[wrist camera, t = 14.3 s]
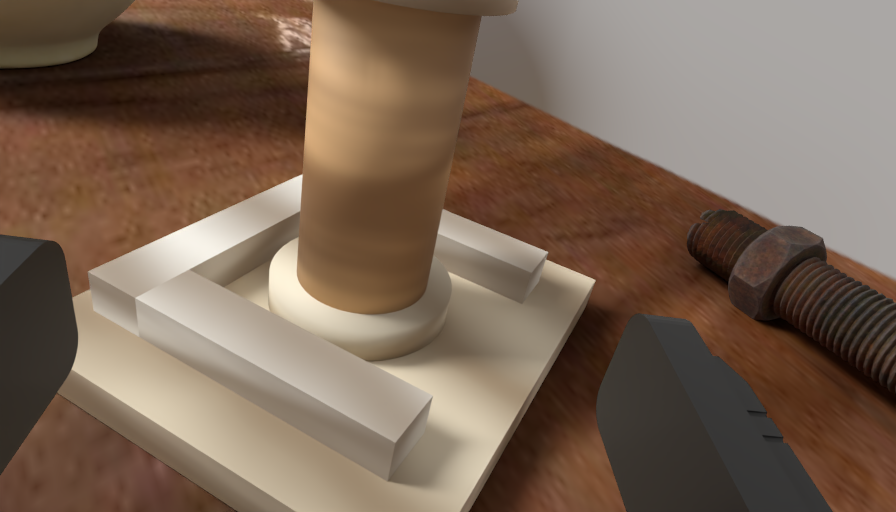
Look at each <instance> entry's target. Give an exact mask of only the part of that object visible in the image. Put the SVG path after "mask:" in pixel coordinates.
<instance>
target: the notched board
mask: <svg viewBox="0 0 896 512" xmlns="http://www.w3.org/2000/svg"><path fill="white" fill-rule="evenodd" d="M302 176H303V174H302V175H300V176H298V177H295V178H293V179H291V180H289V181H287V182H284V183H282V184H280V185H278V186H276V187H273V188H271V189H269V190H267V191H265V192H262V193H260V194H258V195H256V196H253V197H251V198H249V199H247V200H245V201H242V202H240V203H238V204H236V205H234V206H231V207H229V208H227V209H225V210H223V211H220V212H218V213H216V214H214V215H212V216H209V217H207V218H205V219H203V220H201V221H198V222H196V223H194V224H192V225H190V226H187V227H185V228H183V229H181V230H178V231H176V232H174V233H172V234H170V235H167V236H165V237H163V238H161V239H159V240H156V241H154V242H152V243H150V244H148V245H145V246H143V247H141V248H139V249H137V250H134V251H132V252H130V253H128V254H126V255H123V256H121V257H119V258H117V259H115V260H112V261H110V262H108V263H106V264H103V265H101V266H99V267H97V268H95V269H92V270H90V271H88V277H89V283H90V290H88V291H86V292H84V293H81V294H79V295H77V296H75V297H73V298H72V300H73V306H74V311H75V317H76V323H77V328H78V348H77V353H76V358H75V361H74V364H73V367H72V369H71V371H70V373H69V375H68V377H67V378H66V380H65V382H64V383H63V384H62V386H61V387H60V389H59V390H58V392H57V393H58V394H60V395H61V396H63V397H65V398H66V399H68V400H69V401H71V402H72V403H74V404H75V405H77V406H78V407H80V408H81V409H83V410H84V411H86V412H87V413H89V414H90V415H92V416H93V417H95V418H96V419H98V420H99V421H101V422H102V423H104V424H106V425H107V426H109V427H110V428H112V429H113V430H115V431H116V432H118V433H119V434H121V435H122V436H124V437H125V438H127V439H128V440H130V441H131V442H133V443H134V444H136V445H137V446H139V447H140V448H142V449H143V450H145V451H147V452H148V453H150V454H151V455H153V456H154V457H156V458H157V459H159V460H160V461H162V462H163V463H165V464H166V465H168V466H169V467H171V468H172V469H174V470H175V471H177V472H178V473H180V474H181V475H183V476H185V477H186V478H188V479H189V480H191V481H192V482H194V483H195V484H197V485H198V486H200V487H201V488H203V489H204V490H206V491H207V492H209V493H210V494H212V495H213V496H215V497H216V498H218V499H219V500H221V501H222V502H224V503H226V504H227V505H229V506H230V507H232V508H233V509H235V510H236V511H238V512H469V511H470V509H471V507H472V505H473V504H474V502H475V500H476V498H477V497H478V495H479V493H480V491H481V490H482V488H483V486H484V484H485V483H486V481H487V479H488V477H489V476H490V474H491V472H492V470H493V468H494V467H495V465H496V463H497V461H498V460H499V458H500V456H501V454H502V453H503V451H504V449H505V447H506V446H507V444H508V442H509V440H510V439H511V437H512V435H513V433H514V432H515V430H516V428H517V426H518V425H519V423H520V421H521V419H522V418H523V416H524V414H525V412H526V411H527V409H528V407H529V405H530V404H531V402H532V400H533V398H534V397H535V395H536V393H537V391H538V390H539V388H540V386H541V384H542V383H543V381H544V379H545V377H546V376H547V374H548V372H549V370H550V369H551V367H552V365H553V363H554V362H555V360H556V358H557V356H558V355H559V353H560V351H561V349H562V348H563V346H564V344H565V342H566V341H567V339H568V337H569V335H570V334H571V332H572V330H573V328H574V327H575V325H576V323H577V321H578V320H579V318H580V316H581V314H582V313H583V311H584V309H585V307H586V305H587V302H588V299H589V297H590V294H591V291H592V289H593V286H594V284H595V281H596V280H594V279H592V278H589V277H587V276H584V275H582V274H580V273H577V272H575V271H572V270H570V269H567V268H565V267H563V266H560V265H558V264H555V263H553V262H550V261H548V260H546V257H547V254H548V252H546V251H544V250H541V249H539V248H537V247H534V246H532V245H529V244H527V243H524V242H522V241H519V240H517V239H514V238H512V237H510V236H507V235H505V234H502V233H500V232H497V231H495V230H492V229H490V228H487V227H485V226H483V225H480V224H478V223H475V222H473V221H470V220H468V219H465V218H463V217H460V216H458V215H455V214H453V213H451V212H448V211H446V210H442V215H441V220H440V225H439V230H438V235H437V239H436V244H435V249H434V254H433V255H434V256H435V257H436V258H437V259H438V260H439V261H440V262H441V263H442V264H443V265H444V267H445V268H446V270H447V271H448V274H449V276H450V278H451V283H452V293H451V297H450V301H449V306H448V310H447V314H446V319H445V323H444V326H443V328H442V330H441V332H440V333H439V334H438V336H437V337H436V338H435V339H434V340H433V341H432V342H431V343H430V344H428V345H427V346H425V347H424V348H422V349H420V350H418V351H416V352H414V353H412V354H409V355H406V356H403V357H399V358H395V359H389V360H382V361H365V360H363V359H361V358H359V357H357V356H355V355H353V354H351V353H349V352H347V351H346V350H344V349H342V348H340V347H338V346H336V345H334V344H332V343H330V342H328V341H326V340H324V339H322V338H320V337H318V336H317V335H315V334H313V333H311V332H309V331H307V330H305V329H303V328H301V327H299V326H297V325H295V324H293V323H291V322H289V321H288V320H286V319H284V318H282V317H280V316H278V315H276V314H274V313H272V312H270V309H269V305H268V294H269V269H270V265H271V262H272V260H273V257H274V256H275V255H276V253H277V252H278V251H279V250H280V249H281V248H282V247H283V246H284V245H286V244H287V243H289V242H290V241H292V240H294V239H296V238H298V237H299V224H300V208H301V192H302Z"/></svg>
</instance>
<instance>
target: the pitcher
mask: <svg viewBox="0 0 896 512" xmlns="http://www.w3.org/2000/svg"><path fill="white" fill-rule="evenodd" d="M134 1H135V0H0V69H5V68H34V67H45V66H52V65H59V64H64V63H68V62H72V61H75V60H78V59H81V58H83V57H85V56H87V55H89V54H91V53H92V52H93V51H94V50H95V49H96V47H97V43H98V35H99V33H100V31H101V30H102V29H103V28H104V27H106V26H107V25H108V24H109V23H111V22H112V21H113V20H115V19H116V18H117V17H118V16H119V15H120V14H122V13H123V12H124V11H125V10H126V9H127V8H128V7H129V6H130V5H131V4H132V3H133V2H134Z"/></svg>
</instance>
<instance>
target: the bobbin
mask: <svg viewBox="0 0 896 512" xmlns="http://www.w3.org/2000/svg"><path fill="white" fill-rule="evenodd" d="M518 1H519V0H314V2H313V18H312V34H311V49H310V65H309V81H308V97H307V113H306V129H305V145H304V160H303V176H302V192H301V208H300V224H299V237H298V238H296V239H294V240H292V241H290V242H289V243H287V244H286V245H284V246H283V247H282V248H281V249H280V250H279V251H278V252H277V253H276V255H275V256H274V257H273V260H272V262H271V265H270V269H269V294H268V305H269V309H270V312H272V313H274V314H276V315H278V316H280V317H282V318H284V319H286V320H288V321H289V322H291V323H293V324H295V325H297V326H299V327H301V328H303V329H305V330H307V331H309V332H311V333H313V334H315V335H317V336H318V337H320V338H322V339H324V340H326V341H328V342H330V343H332V344H334V345H336V346H338V347H340V348H342V349H344V350H346V351H347V352H349V353H351V354H353V355H355V356H357V357H359V358H361V359H363V360H365V361H382V360H389V359H395V358H399V357H403V356H406V355H409V354H412V353H414V352H416V351H418V350H420V349H422V348H424V347H425V346H427V345H428V344H430V343H431V342H432V341H433V340H434V339H435V338H436V337H437V336H438V334H439V333H440V332H441V330H442V328H443V326H444V323H445V319H446V314H447V310H448V306H449V301H450V297H451V293H452V283H451V278H450V276H449V274H448V271H447V270H446V268H445V267H444V265H443V264H442V263H441V262H440V261H439V260H438V259H437V258H436V257H435V256H434V255H433V254H434V249H435V244H436V239H437V235H438V230H439V225H440V220H441V215H442V210H443V205H444V200H445V195H446V190H447V185H448V180H449V175H450V170H451V165H452V160H453V155H454V150H455V145H456V141H457V136H458V131H459V126H460V121H461V116H462V111H463V106H464V101H465V96H466V91H467V86H468V81H469V76H470V71H471V66H472V61H473V56H474V51H475V47H476V42H477V37H478V32H479V27H480V22H481V17H482V16H500V15H508V14H511V13H514V12H515V11H516V9H517V5H518Z"/></svg>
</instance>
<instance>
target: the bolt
mask: <svg viewBox="0 0 896 512" xmlns="http://www.w3.org/2000/svg"><path fill="white" fill-rule="evenodd" d="M700 219H703V220H705V221H706V222H709V223H702V224H699V223H695V224H694V225H692V226H691V228H690V230H689V232H688V236H687V239H688V241H687V248H688V251H689V253H690V255H691V256H693V257H694V258H695V259H696V260H697V261H699V262H700V263H701V264H703V265H704V266H705V267H707V268H709V269H710V270H712V271H714V273H716V274H718V275H719V276H720V277H721V278H724V279H725V280H726V281H728V282H729V284H728V292H729V297H730V300H731V303H732V304H733V305H734V306H736V307H737V308H738V309H740V310H741V311H743V312H744V313H745V314H747V315H748V316H749V317H751V318H752V319H755V320H765V321H767V320H772V319H776V318H780V317H781V318H782V319H783V320H787V322H788V323H789V324H791V325H794V327H795V328H797V329H800V330H801V331H802V332H803V333H806V334H807V336H809V337H813V340H815V341H817V342H820V345H822V346H823V347H827V349H828V350H830V351H832V352H834V353H835V354H836V356H840V357H841V358H842V359H843V360H844V361H847V362H849V364H850V365H851V366H854V367H856V368H857V369H858V370H859V371H864V374H865V375H866V376H867V377H872V379H873V381H875V382H879V383H880V385H881V386H883V387H885V388H887V387H888V390H889V391H890V392H891V393H896V303H894V302H893V299H890V298H886V297H885V296H884V295H883V294H882V293H881V294H878V292H877V291H876V290H873V289H870V287H869V286H867V285H862V282H860V281H855V280H854V278H851V277H847V275H846V274H845V273H841V272H840V270H838V269H834V267H833V266H832V265H828V264H827V263H826V259H827V253H826V248H825V245H824V241H823V238H821V237H819V236H818V235H816V234H814V233H812V232H810V231H808V230H806V229H804V228H803V227H796V226H779V227H775V228H772V229H770V230H766V229H765V228H764V227H760V225H759V224H756V223H754V222H753V221H751V220H749V219H748V218H746V217H743V215H741V214H738V213H737V212H736V211H725V210H721V209H719V210H717V211H712V210H707V211H705V212H704V213H702V215H701V216H700Z"/></svg>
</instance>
